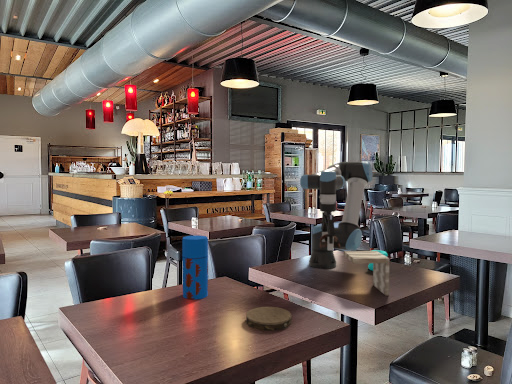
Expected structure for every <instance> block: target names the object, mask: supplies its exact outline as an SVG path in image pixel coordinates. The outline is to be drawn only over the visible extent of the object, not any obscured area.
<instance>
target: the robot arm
mask: <svg viewBox="0 0 512 384" xmlns="http://www.w3.org/2000/svg"><path fill="white" fill-rule="evenodd" d="M373 176H374V175H373V167H372V164H371V163H370V162H369V161H362V160H361V161H342V162H337V163H334V164H332V165H329V166H328V167H327V168H326V169H323V170H320V171H318V172H315V173H312V174H303V175H301V176H300V180H299V182H300V183H299V185H300V187H301V188H302V189H304V190H319V195H318V198H319V212H322V213H321V214H322V217H321V224H317V225H314V226H313V227H312V233H311V234H312V235H311V237H312V239H311V241H312V243H311V244H312V245H311V247H312V248H311V255H310V257H309V260H308V266H310V267H311V268H316V269H324V270H325V269H333V268H336V267H337V261H336V257H335V254H334V249H337V250H343V251H357V250H358V249H359V248H360V246H361V243H362V240H363V237H362V236H363V232H362V230H361V229H360V228H361V227H360V226H359V220H360V213H361V208H362V207H361V206H362V201H363V195H364V191H365V188H366V187H367V186H368V184H369V183H371V182H372V181H373ZM346 182H347V184H348V190H347V195H346V199H345V205H344V209H343V215H342V219H341V221H340V222H338V225H337V227H336V226H335V222H334V220H335V219H334V214H333V213H334V212H336V210H337V204H336V202H337V194H336V193H337V190H341V189H343V188H344V186H345V184H346ZM332 212H333V213H332ZM325 234H328V235H327V237H328V241H327V247H321V248H322V249H321V248H320V238H321V237H322V236H323V235H325ZM334 236H335V237H336V238H337V239H338V241H339V244H340V249H339V247H334ZM324 239H325V238H324ZM324 239H323V240H322V242H326V241H325V240H324Z"/></svg>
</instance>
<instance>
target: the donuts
mask: <svg viewBox="0 0 512 384" xmlns="http://www.w3.org/2000/svg"><path fill="white" fill-rule="evenodd" d="M371 251H378V252H379V253H381V254H383V255H384V256H386V257H388V256H389V254H388V253H387V251H384V250H379V249H373V250H371ZM367 268H368V269H369V270H370V271H372V272H373V263H368V265H367Z"/></svg>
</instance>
